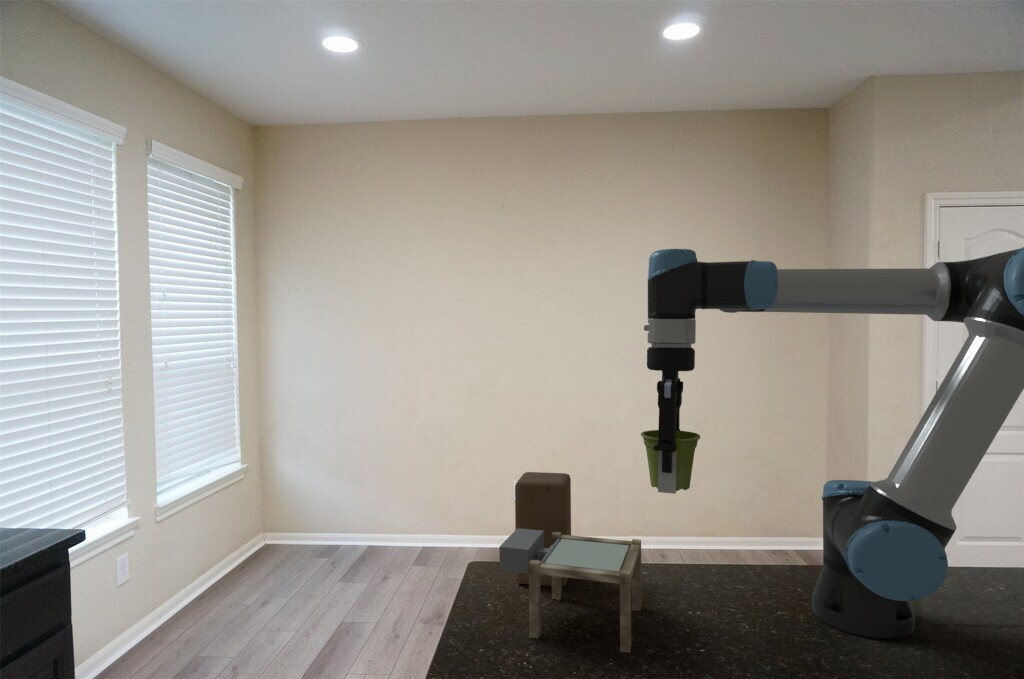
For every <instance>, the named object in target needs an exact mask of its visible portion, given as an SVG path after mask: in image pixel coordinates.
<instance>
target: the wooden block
mask: <svg viewBox="0 0 1024 679" xmlns="http://www.w3.org/2000/svg"><path fill="white" fill-rule="evenodd" d="M571 479H572V478H571V476H570V475H569V474H568V473H563V472H562V473H561V472H542V471H541V472H540V471H539V472H537V471H536V472H535V471H526V472H524V473H523V474H521V476H520V478H519V479H518V480H517V481H516V482H515V485H514V512H515V513H514V516H515V517H514V518H515V519H514V520H515V524H514V525H515V528H514V529H515V530H516V529H517V528H521V529H531V530H541V531H544V548H550V546H551V534H552V533H553V532H561V534H562V535H572V504H571V503H572V498H571V497H572V494H571V492H572V490H571V485H572V482H571V481H572V480H571ZM515 530H514V531H515ZM542 557H543V556H541V557H540V559H539V561H540V560H541V558H542ZM515 580H516V582H517V583H518V584H520V585H522V584H523V585H529V573H528V574H526V573H518V572H515ZM568 580H569V578H567V577H562V586H563V587H566V585H567V583H568ZM540 586H545V587H546V586H547V587H552V576H550V575H542V576H541V578H540Z"/></svg>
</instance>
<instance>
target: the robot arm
mask: <svg viewBox="0 0 1024 679" xmlns="http://www.w3.org/2000/svg"><path fill="white" fill-rule="evenodd" d="M648 259H649V260H648V273H647V274H648V276H647V323H648V324H645V325H644V327H643V331H644V332H648V333H647V343H648V344H650V345H651V346H649V347H648V348H647V349H646V368H647V369H648V370H650V371H661V380H658V381H656V391H657V394H658V395H657V407H658V429H657V430H658V443H657V446H654V451H658V489H657V493H662V494H663V493H665V494H673V495H674V494H675V495H676V494H677V491H676V458H677V451H675V450H676V431H679V430H680V431H681V428H680V418H681V417H680V416H681V415H680V413H681V412H680V409H681V406H682V401H683V392H684V381H681V378H679V372H691V371H693V370H695V366H696V359H695V357H696V350H695V348H693V347H692V345H694V344H696V335H697V334H696V329H697V328H696V327H697V326H696V325H697V324H696V322H697V321H696V319H697V318H696V310H699V309H700V310H720V311H721V312H724V313H729V314H730V313H731V314H732V313H733V314H735V313H738V312H739V313H750V312H751V313H802V314H803V313H805V314H807V313H811V314H861V315H862V314H863V315H864V314H865V315H866V314H867V315H869V314H872V315H873V314H875V315H913V316H914V315H917V316H918V315H922V316H925V315H926V316H927V317H928V318H929V319H930V320H931V321H933V322H951V323H953V322H954V323H955V322H956V323H962V324H963V323H964V325H965V327H966V330H967V332H968V336H967V338H966V339H965V341H964V342H963V343H964V344H962V347H961V349H960V350H959V352H958V354H957V356H956V357H955V359H954V361H953V363H952V365H951V366H950V368H949V370H948V371H947V373H946V375H945V376H944V379H942V382H941V384H939V387H938V389H937V390H936V392H935V394H934V396H933V398H932V399H931V400H930V402H929V404H928V406H927V407H926V410H925V411H924V413H923V415H922V416H921V419H920V420H919V422H918V424H917V426H916V427H915V429H914V431H913V432H912V434H911V435H910V437H909V439H908V441H907V442H906V445H905V446H904V448H903V450H902V451H901V453H900V455H899V456H898V458H897V460H896V461H895V464H894V466H893V467H892V469H891V470H890V472H889V474H888V475H887V477H886V478H884V479H881V480H878V481H871V480H856V479H853V480H852V479H833V480H832V479H831V480H828V481H826V482H825V483H824V484H823V487H822V488H823V489H822V491H823V492H822V496H821V500H822V543H823V544H822V547H823V548H822V554H823V555H822V556H823V557H822V561H823V562H822V563H823V564H822V568H821V571H820V573H819V576H818V578H817V581H816V584H815V587H814V590H813V592H812V596H811V610H812V612H813V614H814V615H815V616H816V617H817V618H818V619H819V620H821V621H822V622H824V623H825V624H827V625H829V626H831V627H833V628H836V629H837V630H841V631H843V632H846V633H850V634H854V635H857V636H861V637H868V638H874V639H882V640H883V639H901V638H905V637H906V638H907V637H908V636H910V635H913V633H914V632H915V630H916V614H915V611H914V607H913V604H912V602H911V601H915V600H921V599H923V598H926V597H928V596H931V595H932V594H933V593H935V592H936V591H937V590H939V588H940V587H941V586H942V585H943V583H944V582H945V580H946V578H947V575H948V571H949V562H948V555H947V552H946V550H945V549H946V548H947V545H948V544H949V542H950V541H951V539H952V537H953V535H954V534H955V532H956V530H957V528H958V527H957V524H956V522H955V519H954V516H953V514H952V512H953V508H954V507H955V505H956V504H957V502H958V500H959V498H960V497H961V495H962V494H963V492H964V490H965V489H966V487H967V486H968V483H969V482H970V480H971V478H972V477H973V475H974V473H975V471H976V470H977V468H978V467H979V465H980V463H981V461H982V460H983V458H984V456H985V454H987V451H988V450H989V448H990V446H991V445H992V443H993V441H994V440H995V438H996V436H998V433H999V431H1000V429H1001V428H1002V426H1003V424H1004V423H1005V421H1006V419H1007V418H1008V416H1009V414H1010V413H1011V411H1012V409H1013V408H1014V406H1015V404H1016V403H1017V401H1018V400H1019V397H1020V396H1021V394H1022V393H1023V391H1024V246H1023V247H1020V248H1016V249H1013V250H1012V249H1011V250H1007V251H1003V252H998V253H995V254H991V255H987V256H983V257H979V258H974V259H968V260H967V259H966V260H961V261H939V262H938V261H937V262H935V263H934V264H933V265H932V266H930V267H929V268H926V267H925V268H922V267H921V268H780V269H779V268H777V265H776V264H775V263H774V262H773V261H770V260H769V261H768V260H767V261H766V260H765V261H764V260H762V261H761V260H755V259H751V260H747V261H746V260H742V261H719V262H718V261H714V262H712V261H711V262H707V261H706V262H705V261H704V262H703V261H698V258H697V253H696V251H695V250H693V249H688V248H665V249H659V250H655V251H654V252H653V251H652V253H651V254H650V256H649V258H648ZM668 441H671V442H668Z"/></svg>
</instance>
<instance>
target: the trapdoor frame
mask: <svg viewBox="0 0 1024 679" xmlns="http://www.w3.org/2000/svg"><path fill="white" fill-rule="evenodd" d="M557 539H560V540H561V539H569V540H579V541H589V542H599V543H609V544H619V545H629V552H628V555H627V558H626V560H625V563H624V566H623V568H622V570H621V571H620V572H615V571H606V570H597V569H588V568H579V567H570V566H562V565H553V564H544V563H540V562H541V561H542V559H543V558H544V557H542V558H541V560H540V561H539V560H531V561H530V562H529V584H528V613H529V614H528V615H529V616H528V619H529V620H528V621H529V622H528V627H529V628H528V629H529V632H528V634H529V638H532V639H536V640H539V638H540V637H541V635H542V628H541V626H542V625H541V624H542V623H541V622H542V621H541V619H542V616H541V615H542V612H541V611H542V608H541V606H542V604H541V603H542V602H541V585H540V578H541V576H542V575H550V576H552V586H551V600H553V599H556V601H561V600H562V598H561V597H562V596H563V592H562V590H563V589H562V577H567V578H568V579H579V580H584V581H585V580H586V581H593V582H602V583H610V584H612V583H613V584H619V644H620V645H619V646H620V647H619V651H620V652H623V653H628V654H630V653H631V652H632V651H631V650H632V611H639V612H641V610H642V606H643V605H642V604H643V603H642V596H643V595H642V590H643V589H642V540H641V539H636V538H635V539H634V538H633V539H631V540H622V539H612V538H603V537H602V538H601V537H600V538H599V537H592V536H583V535H581V536H580V535H572V534H571V535H562V534H561V532H553V533H552V534H551V546H550V548H551V547H552V546H553V544H554V543H555V542H556V540H557Z"/></svg>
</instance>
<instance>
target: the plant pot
mask: <svg viewBox="0 0 1024 679" xmlns="http://www.w3.org/2000/svg"><path fill="white" fill-rule="evenodd" d="M658 430H659V429H652V430H646V431H645V430H644V431H642V432H640V436H641V437H642V439H643V444H644V446H645V449H646V450H645V451H646V457H647V464H648V470H649V471H648V473H649V481H650V485H651V487H652V488H656V489H657V490H658V451H654V446H657V443H658ZM700 439H701V435H700V434H699V433H697V432H692V431H688V430H681V429H680V430H679V431H676V450H675V451H677V458H676V492H678V491H680V490H683V491H687V490H689V489H690V487H691V480H692V473H693V466H694V457H695V453H696V448H697V446H698V441H699V440H700ZM668 442H671V441H668Z"/></svg>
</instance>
